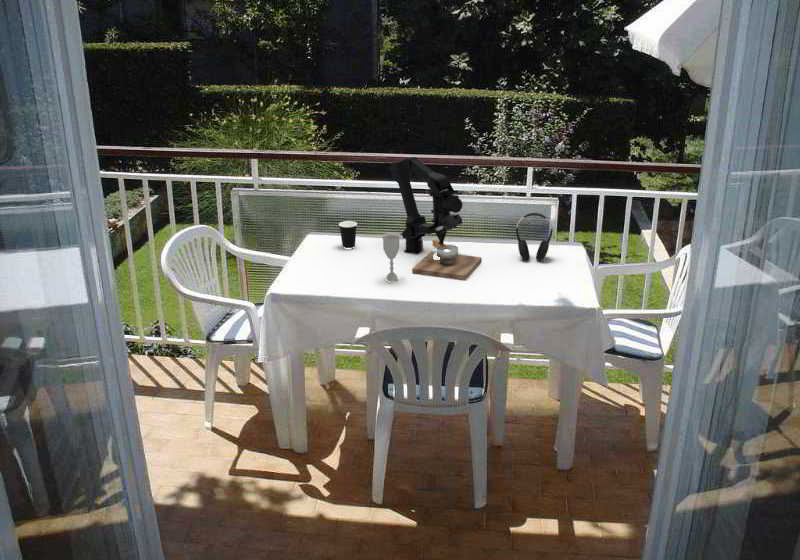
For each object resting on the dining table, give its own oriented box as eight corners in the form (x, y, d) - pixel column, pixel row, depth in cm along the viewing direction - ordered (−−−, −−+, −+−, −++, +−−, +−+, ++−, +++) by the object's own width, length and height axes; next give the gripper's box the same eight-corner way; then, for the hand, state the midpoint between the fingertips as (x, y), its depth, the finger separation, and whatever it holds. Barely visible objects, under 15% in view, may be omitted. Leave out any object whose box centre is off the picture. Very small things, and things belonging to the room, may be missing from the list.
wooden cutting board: (412, 273, 307) (412, 261, 305) (431, 255, 325) (431, 244, 324) (465, 280, 299) (465, 268, 297) (481, 261, 318) (481, 250, 316)
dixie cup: (361, 247, 336) (360, 223, 332) (347, 252, 331) (346, 227, 327) (349, 243, 341) (348, 219, 337) (336, 248, 336) (334, 223, 332)
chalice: (387, 284, 296) (386, 239, 290) (379, 278, 302) (378, 234, 295) (404, 280, 299) (403, 236, 293) (396, 275, 305) (395, 231, 298)
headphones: (550, 264, 314) (553, 216, 307) (514, 262, 317) (516, 215, 309) (550, 256, 322) (553, 210, 315) (515, 255, 325) (517, 209, 317)
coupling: (461, 256, 308) (462, 249, 307) (443, 260, 305) (443, 252, 304) (443, 245, 321) (443, 238, 320) (425, 248, 318) (425, 241, 317)
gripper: (435, 217, 300) (437, 254, 306) (470, 206, 310) (471, 242, 316) (417, 211, 308) (419, 248, 314) (452, 200, 318) (453, 236, 324)
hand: (441, 244), depth 317 cm, fingers closed
